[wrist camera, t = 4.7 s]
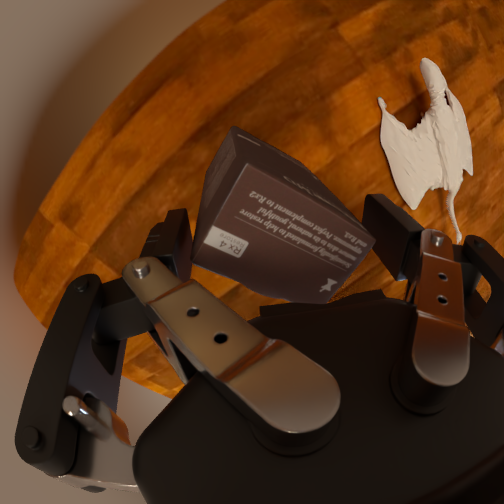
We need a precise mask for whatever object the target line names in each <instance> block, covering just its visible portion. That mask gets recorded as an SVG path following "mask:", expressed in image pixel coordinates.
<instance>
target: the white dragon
mask: <svg viewBox="0 0 504 504" xmlns="http://www.w3.org/2000/svg"><path fill="white" fill-rule="evenodd" d="M420 70H421V73H422V75H423V78H424V81H425V84H426V86H427V89H428V91H429V94H430V99H431V104H430V106H431V107H430V108H429V110H428V111H427V112H426V111H425V117H424V118H423V120H421V123H420V124H419V123H417V126H416V127H415V128H413V129H412V130H410V131H409V130H408V129H407V128H406V126H405V125H404V124H403V123H401V122H399V121H397V119H396V118H395V117H394V116H393V115H390V114H389V113H388V112H387V111H386V110H385V107H386V106H385V105H386V104H385V103H384V100H383V99H382V98H381V97H379V98H378V103H379V106H380V107H381V110H382V112H383V116H382V124H381V134H380V139H381V144H382V147H383V149H384V151H385V153H386V156H387V158H388V161H389V164H390V168H391V171H392V174H393V178H394V181H395V184H396V186H397V188H398V190H399V192H400V194H401V196H402V197H403V199H404V200H405V201H406V203H407V204H408V205H409V206H410V208H411V209H412V210H415V209H416V208H417V207H418V205H419V203H420V201H421V199H422V197H424V194H425V192H426V191H427V190H428V189H429V188H430V189H431V190H432V191H433V190H434V188H435V189H436V188H437V189H438V187H440V188H442V187H444V189H445V190H449V192H448V193H449V194H448V195H447V196H448V197H447V199H446V200H447V201H446V202H447V203H446V204H447V205H448V206H449V207H448V208H447V207H446V208H447V209H448V210H449V213H450V214H449V215H450V216H451V217H450V218H451V219H452V222H453V223H454V224H453V223H452V224H453V226H454V227H453V228H454V229H455V230H456V233H457V238H456V239H457V244H458V243H459V241H460V239H461V241H462V236H461V233H460V232H459V229H458V226H457V222H456V219H455V215H454V208H453V200H454V197H455V195H456V193H457V191H458V190H459V187H460V184H461V182H462V181H463V178H462V173H463V170H462V169H465V170H466V171H467V172H468V173H469V174H470V175H471V176H473V163H472V149H471V141H470V136H469V132H468V128H467V124H466V117H465V115H464V112H463V109H462V106H461V104H460V103H459V101H458V100H457V99H456V97H455V96H454V95H453V94H452V93H451V91H450V90H449V89H448V87H447V83H446V80H445V79H444V77H443V76H442V73H441V71H440V69H439V67H438V66H437V65H436V64H435V63H434V62H432V61H431V60H429V59H427V58H423V59H422V61H421V62H420ZM444 91H446V94H447V98H448V101H449V105H450V107H449V105H447V103H446V99H445V98H444V96H445V94H444V93H445V92H444Z"/></svg>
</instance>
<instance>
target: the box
mask: <svg viewBox="0 0 504 504" xmlns="http://www.w3.org/2000/svg"><path fill="white" fill-rule="evenodd" d="M375 242H376V239H375V238H374V237H373V236H372V235H371V234H370V232H369V231H368V230H367V229H366V228H365V227H364V226H363V225H362V224H361V223H360V222H359V221H358V220H357V219H356V217H355V216H354V215H353V214H352V213H351V212H350V211H349V210H348V209H347V208H346V207H345V206H344V205H343V204H342V203H341V202H340V200H339V199H338V198H337V197H336V196H335V195H334V194H333V193H332V192H331V191H330V190H329V189H328V188H327V187H326V186H325V185H324V184H323V183H322V182H321V181H320V180H319V179H318V178H317V177H316V176H315V175H314V174H313V173H312V172H311V171H310V170H308V169H307V168H306V167H305V166H304V165H303V164H302V163H301V162H300V161H298V160H296V159H294V158H292V157H291V156H289V155H287V154H285V153H283V152H282V151H280V150H278V149H276V148H274V147H273V146H271V145H269V144H267V143H265V142H263V141H261V140H260V139H258V138H256V137H254V136H252V135H251V134H249V133H247V132H245V131H243V130H242V129H240V128H238V127H236V126H232V127H231V129H230V131H229V132H228V134H227V136H226V138H225V139H224V141H223V143H222V145H221V146H220V148H219V150H218V152H217V154H216V155H215V157H214V159H213V161H212V163H211V164H210V166H209V168H208V170H207V171H206V176H205V182H204V187H203V192H202V198H201V202H200V208H199V213H198V217H197V223H196V229H195V235H194V239H193V244H192V250H191V255H190V261H191V262H192V263H193V264H194V265H196V266H198V267H201V268H204V269H206V270H209V271H211V272H214V273H216V274H219V275H221V276H224V277H227V278H230V279H232V280H235V281H237V282H240V283H242V284H243V285H244V286H246V287H247V288H248V289H250V290H252V291H254V292H256V293H259V294H261V295H264V296H267V297H272V298H278V299H284V300H287V301H290V302H293V303H312V304H326V303H327V302H328V301H329V300H330V298H331V297H332V296H333V295H334V294H335V292H336V291H337V290H338V289H339V288H340V287H341V285H342V284H343V283H344V282H345V281H346V279H347V278H348V277H349V276H350V275H351V274H352V272H353V271H354V270H355V269H356V268H357V266H358V265H359V264H360V262H361V261H362V260H363V259H364V257H365V256H366V255H367V253H368V252H369V251H370V249H371V248H372V247H373V245H374V244H375Z"/></svg>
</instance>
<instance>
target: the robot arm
mask: <svg viewBox="0 0 504 504" xmlns="http://www.w3.org/2000/svg"><path fill="white" fill-rule="evenodd" d="M362 225H363V226H364V227H365V228H366V229H367V230H368V231H369V232H370V234H371V235H372V236H373V237H374V238H375V239H376V242H375V244H374V245H373V247H372V249H373V250H374V252H375V253H376V254H377V256H378V257H379V258H380V260H381V261H382V262H383V264H384V265H385V266H386V268H387V269H388V271H389V272H390V273H391V275H392V276H393V278H394V279H395V280H396V281H400V280H406V279H408V281H407V284H406V287H405V292H404V297H403V300H400V299H395V298H386V296H385V295H384V293H383V292H382V290H381V289H378V290H373V291H367V292H361V293H355V294H352V295H349V296H347V297H344V298H342V299H339V300H337V301H334V302H331V303H328V304H312V303H293V302H292V303H284V304H276V305H267V306H260V316H259V317H256V318H254V319H251V320H249V321H246V320H244V319H243V318H242V317H240V316H239V315H238V314H237V313H235V312H234V311H233V310H231V309H230V308H229V307H228V306H226V305H225V304H224V303H223V302H221V301H220V300H219V299H218V298H216V297H215V296H214V295H213V294H212V293H210V292H209V291H208V290H207V289H205V288H204V287H203V286H202V285H201V284H199V283H198V282H197V281H196V280H194V279H190V276H191V269H192V262H191V261H190V255H191V250H192V244H193V240H192V235H191V229H190V224H189V219H188V213H187V210H186V208H184V209H176V210H169V211H168V213H167V216H166V218H165V221H164V222H161V223H157V224H156V225H155V226H154V227H153V228H152V229H151V230H150V233H149V235H148V237H147V240H146V243H145V244H144V247H143V249H142V252H141V254H140V257H139V258H138V259H135V260H133V261H131V262H130V263H128V264H127V265H126V266H125V267H124V269H123V271H122V277H121V278H118V279H116V280H112V281H109V282H106V283H103V284H102V282H101V280H100V278H99V276H98V275H96V274H85V275H82V276H80V277H78V278H76V279H75V280H73V281H72V282H71V283H70V284H69V286H68V287H67V289H66V291H65V293H64V295H63V297H62V299H61V301H60V304H59V306H58V308H57V310H56V312H55V314H54V317H53V319H52V321H51V324H50V326H49V328H48V331H47V333H46V336H45V338H44V341H43V343H42V346H41V348H40V351H39V354H38V356H37V359H36V362H35V365H34V368H33V371H32V374H31V377H30V380H29V383H28V387H27V390H26V393H25V396H24V400H23V404H22V408H21V411H20V415H19V419H18V424H17V428H16V433H15V446H16V449H17V452H18V454H19V456H20V457H21V458H22V459H23V460H24V461H25V462H26V463H28V464H30V465H32V466H34V467H35V468H37V469H39V470H41V471H43V472H44V473H46V474H47V475H49V476H51V477H53V478H55V479H57V480H59V481H61V482H64V483H66V484H69V485H71V486H73V487H78V488H81V489H84V490H86V491H89V492H94V493H97V492H102V491H104V490H105V489H106V488H109V489H115V490H122V491H130V492H139V493H142V495H143V497H144V498H145V500H146V502H147V504H504V258H503V257H502V256H501V255H500V254H499V253H498V252H497V251H496V250H495V249H494V248H493V247H492V246H491V245H490V244H489V243H488V242H487V241H485V240H484V239H483V238H481V237H478V236H475V235H467V236H466V238H465V241H464V244H463V245H455V244H452V241H451V239H450V238H449V237H448V236H447V235H446V234H444V233H443V232H440V231H438V230H434V229H426V230H425V229H424V228H423V227H422V226H421V225H420V224H419V223H418V222H417V221H416V220H414V219H413V218H412V217H411V216H410V215H409V214H408V213H407V212H406V211H404V210H403V209H402V208H401V207H399V206H397V205H395V204H394V203H393V202H392V201H391V200H389V199H388V198H387V197H386V196H385V195H383V194H368V195H367V196H366V197H365V203H364V211H363V218H362ZM482 275H483V276H484V278H485V279H486V280H487V281H488V282H489V284H490V286H491V296H490V298H489V300H488V302H487V304H486V302H485V301H484V300H483V298H482V297H481V296H480V294H479V293H478V292H477V290H476V287H477V285H478V282H479V280H480V278H481V276H482ZM465 323H466V324H467V326H468V327H466V326H465ZM469 329H470V330H469ZM470 331H471V332H472V334H473V336H474V337H475V338H473V337H472V336H470ZM145 332H147V334H148V335H149V337H150V338H151V339H152V341H153V342H154V343H155V345H156V346H157V347H158V349H159V350H160V351H161V353H162V354H163V355H164V356H165V358H166V359H167V360H168V361H169V363H170V364H171V365H172V367H173V368H174V370H175V371H176V373H177V374H178V376H179V377H180V379H181V380H182V382H183V383H184V384H185V386H184V387H183V388H182V389H181V390H180V391H179V393H178V394H177V395H176V396H175V397H174V398H173V399H172V400H171V402H170V403H169V404H168V405H167V406H166V407H165V408H164V409H163V411H162V412H161V413H160V414H159V415H158V416H157V417H156V418H155V419H154V420H153V421H152V422H151V424H150V425H149V426H148V427H147V428H146V429H145V430H144V431H143V433H142V434H141V436H140V437H139V439H138V440H137V442H136V445H135V446H132V445H131V443H130V440H129V434H128V429H127V426H126V424H125V423H124V421H123V420H122V419H121V418H120V417H118V416H117V415H116V410H117V402H118V393H119V386H120V379H121V373H122V366H123V360H124V354H125V349H126V343H127V338H129V337H132V336H136V335H139V334H142V333H145Z"/></svg>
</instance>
